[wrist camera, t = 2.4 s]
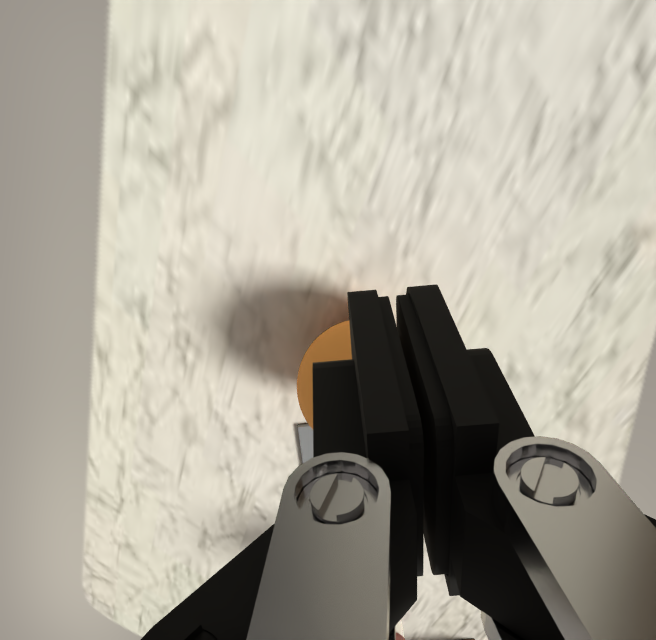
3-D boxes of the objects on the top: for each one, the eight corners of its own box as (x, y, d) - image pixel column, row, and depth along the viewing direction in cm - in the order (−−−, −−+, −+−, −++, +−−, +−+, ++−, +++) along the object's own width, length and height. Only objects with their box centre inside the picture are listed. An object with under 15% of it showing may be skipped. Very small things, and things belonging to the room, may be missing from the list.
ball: (291, 300, 26) (287, 376, 21) (419, 289, 26) (447, 363, 21) (304, 401, 29) (303, 489, 24) (419, 392, 29) (443, 478, 24)
